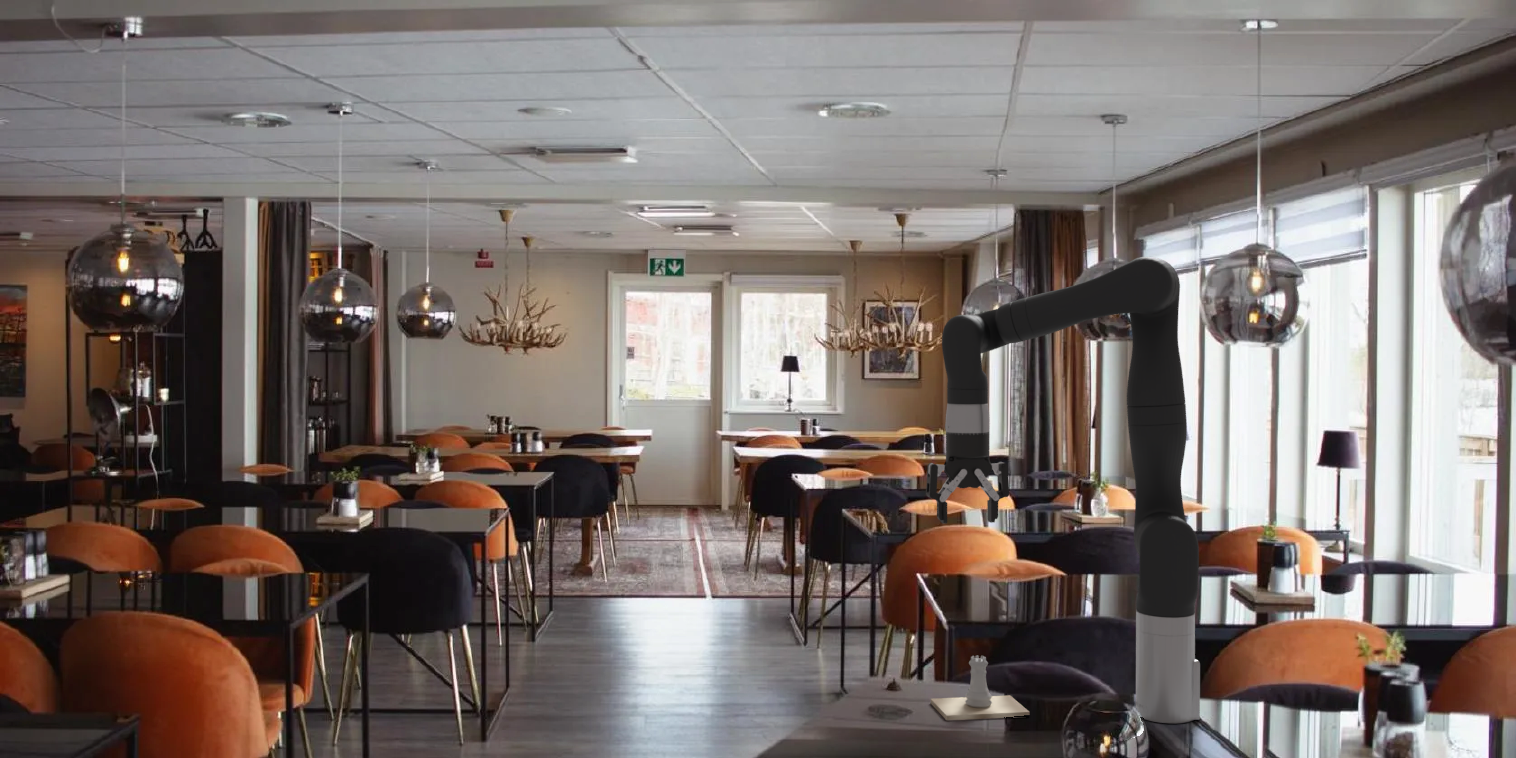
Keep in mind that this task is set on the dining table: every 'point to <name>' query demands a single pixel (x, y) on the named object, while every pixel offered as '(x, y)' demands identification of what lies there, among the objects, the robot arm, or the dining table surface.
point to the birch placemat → (962, 711)
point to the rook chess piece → (978, 684)
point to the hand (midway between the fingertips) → (967, 522)
